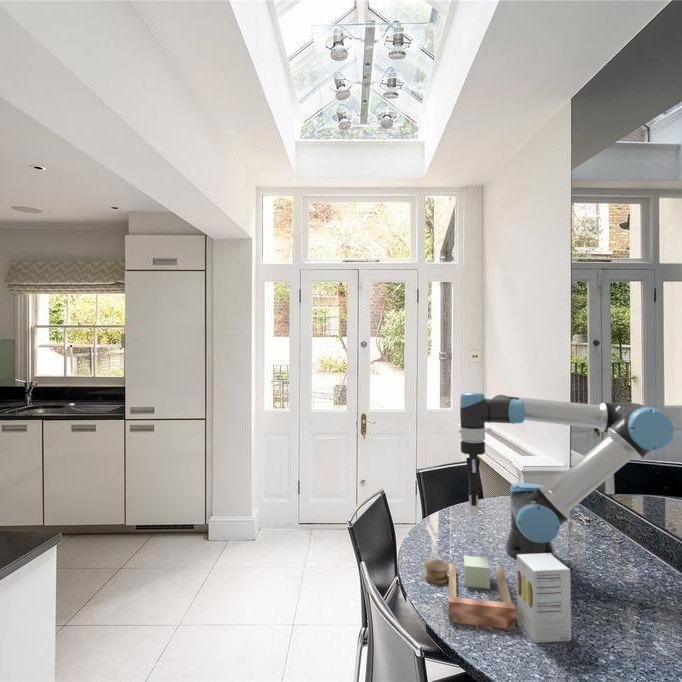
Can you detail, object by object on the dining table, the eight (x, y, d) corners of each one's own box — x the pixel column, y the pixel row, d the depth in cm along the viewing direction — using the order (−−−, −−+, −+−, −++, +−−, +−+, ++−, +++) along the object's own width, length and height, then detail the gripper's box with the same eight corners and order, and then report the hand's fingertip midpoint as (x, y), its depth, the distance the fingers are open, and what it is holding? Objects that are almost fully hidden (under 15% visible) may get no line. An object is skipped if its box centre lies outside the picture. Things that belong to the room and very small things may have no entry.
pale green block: (488, 577, 142) (487, 557, 142) (490, 589, 135) (489, 568, 135) (464, 575, 143) (463, 555, 143) (465, 586, 136) (464, 565, 137)
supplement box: (516, 620, 119) (515, 553, 119) (551, 618, 119) (549, 551, 120) (535, 644, 109) (533, 570, 110) (572, 641, 110) (571, 568, 110)
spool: (448, 573, 144) (448, 560, 144) (448, 585, 137) (448, 571, 137) (425, 571, 146) (425, 558, 146) (423, 582, 139) (423, 568, 139)
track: (503, 576, 142) (503, 559, 142) (515, 629, 115) (515, 608, 115) (449, 571, 146) (448, 555, 146) (448, 621, 118) (448, 601, 119)
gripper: (460, 436, 158) (461, 507, 157) (461, 444, 145) (462, 520, 145) (483, 437, 156) (484, 508, 156) (486, 444, 144) (487, 522, 143)
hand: (473, 514), depth 150 cm, fingers closed
